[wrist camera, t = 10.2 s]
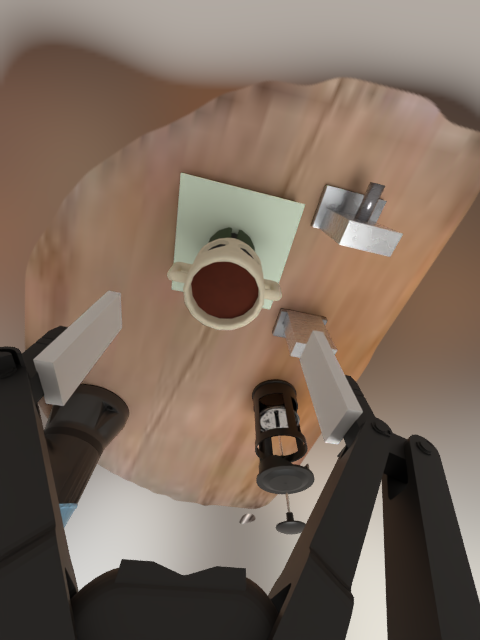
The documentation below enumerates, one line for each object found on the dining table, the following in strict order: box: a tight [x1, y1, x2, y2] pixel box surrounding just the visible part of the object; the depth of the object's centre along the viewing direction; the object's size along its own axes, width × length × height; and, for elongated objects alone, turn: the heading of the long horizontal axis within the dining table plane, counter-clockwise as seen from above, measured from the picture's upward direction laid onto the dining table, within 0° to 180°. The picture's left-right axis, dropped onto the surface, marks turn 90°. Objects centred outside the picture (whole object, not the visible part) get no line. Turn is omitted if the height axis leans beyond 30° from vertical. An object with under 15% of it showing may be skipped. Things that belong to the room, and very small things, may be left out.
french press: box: [252, 380, 314, 534], centre depth 43 cm, size 12×9×23 cm
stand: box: [172, 173, 305, 309], centre depth 33 cm, size 15×15×4 cm
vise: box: [272, 182, 403, 358], centre depth 33 cm, size 8×25×9 cm, turn 167°
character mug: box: [167, 227, 282, 330], centre depth 26 cm, size 11×7×13 cm, turn 78°
